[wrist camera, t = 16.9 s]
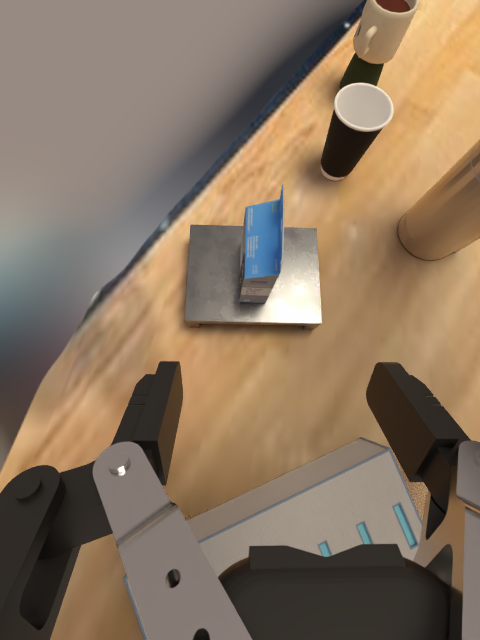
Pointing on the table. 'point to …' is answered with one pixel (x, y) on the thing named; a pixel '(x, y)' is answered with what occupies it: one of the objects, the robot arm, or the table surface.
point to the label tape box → (261, 250)
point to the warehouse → (314, 511)
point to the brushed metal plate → (224, 272)
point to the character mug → (378, 38)
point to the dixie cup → (354, 127)
